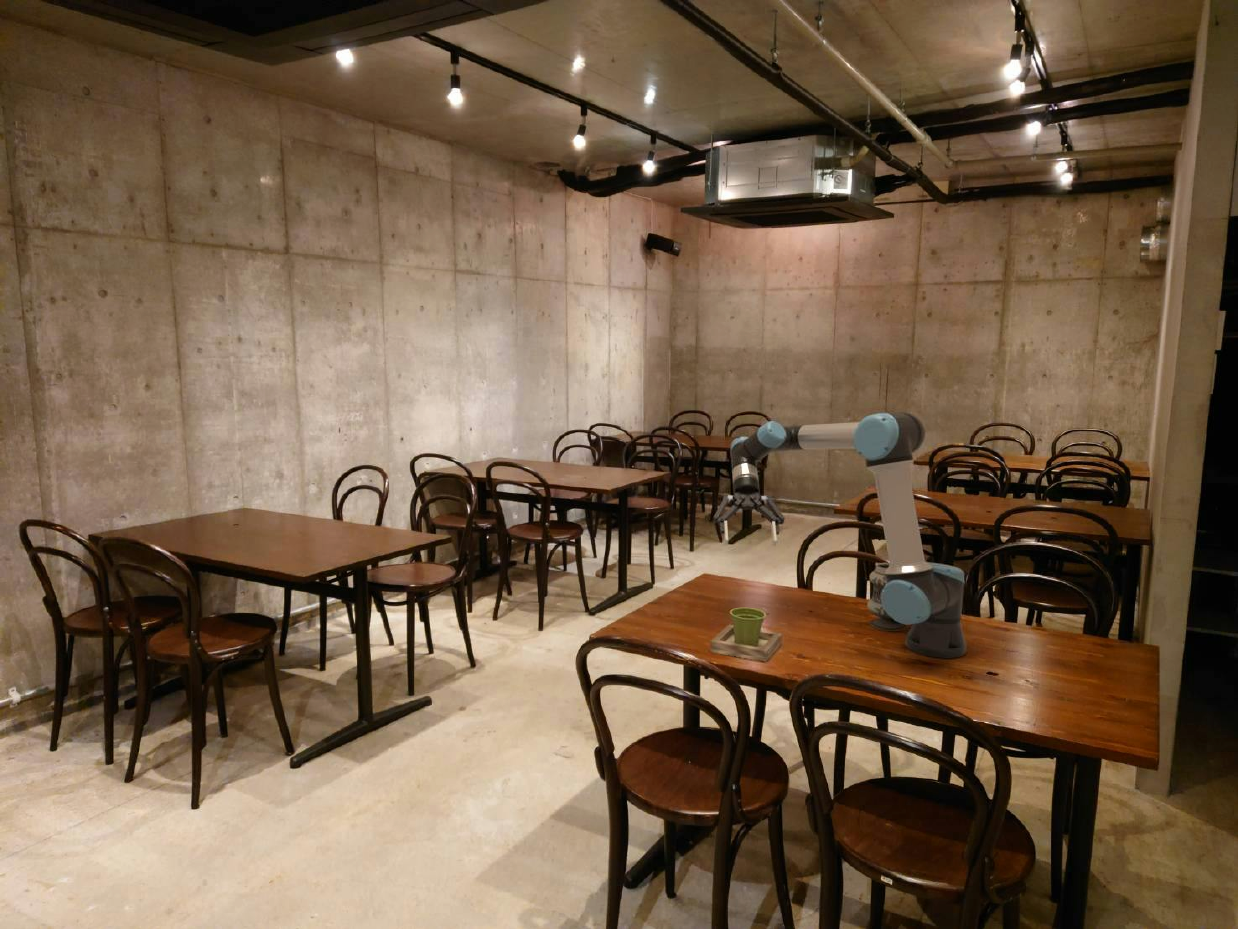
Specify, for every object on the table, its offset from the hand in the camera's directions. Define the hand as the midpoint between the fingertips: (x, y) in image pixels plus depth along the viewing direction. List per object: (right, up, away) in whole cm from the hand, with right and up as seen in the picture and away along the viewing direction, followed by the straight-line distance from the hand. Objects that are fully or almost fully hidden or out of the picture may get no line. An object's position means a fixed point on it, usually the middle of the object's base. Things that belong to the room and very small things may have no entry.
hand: (750, 543), depth 220 cm
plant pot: (-3, -26, -11) cm, 29 cm away
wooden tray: (-3, -27, -11) cm, 29 cm away
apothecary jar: (+42, -25, +9) cm, 50 cm away
